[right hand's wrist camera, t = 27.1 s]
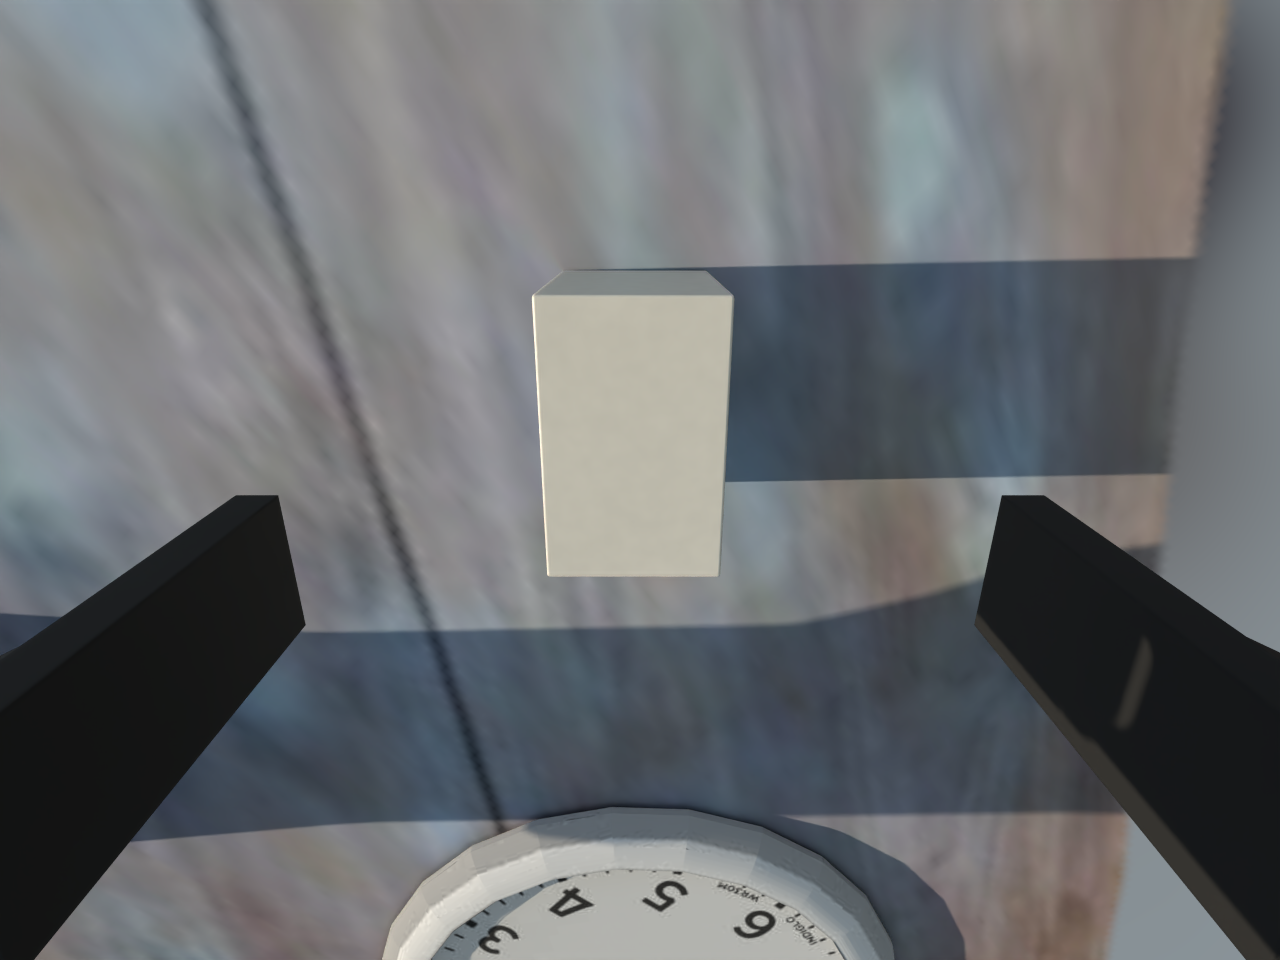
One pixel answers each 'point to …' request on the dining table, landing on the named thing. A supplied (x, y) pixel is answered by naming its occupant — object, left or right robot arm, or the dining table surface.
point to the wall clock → (638, 895)
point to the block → (633, 421)
